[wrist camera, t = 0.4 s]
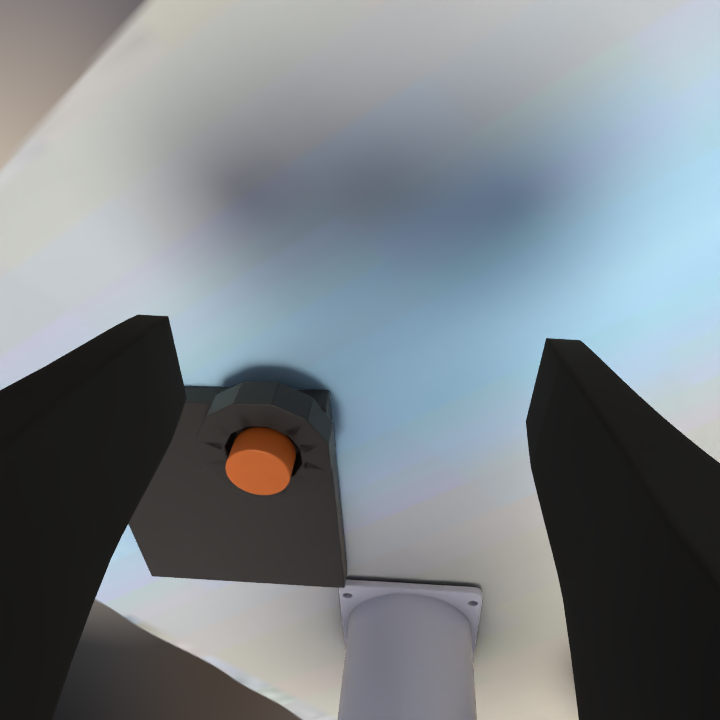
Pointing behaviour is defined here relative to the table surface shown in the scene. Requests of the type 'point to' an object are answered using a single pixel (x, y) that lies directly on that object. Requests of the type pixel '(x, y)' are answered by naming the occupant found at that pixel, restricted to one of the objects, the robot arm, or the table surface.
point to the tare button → (261, 461)
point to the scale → (245, 494)
